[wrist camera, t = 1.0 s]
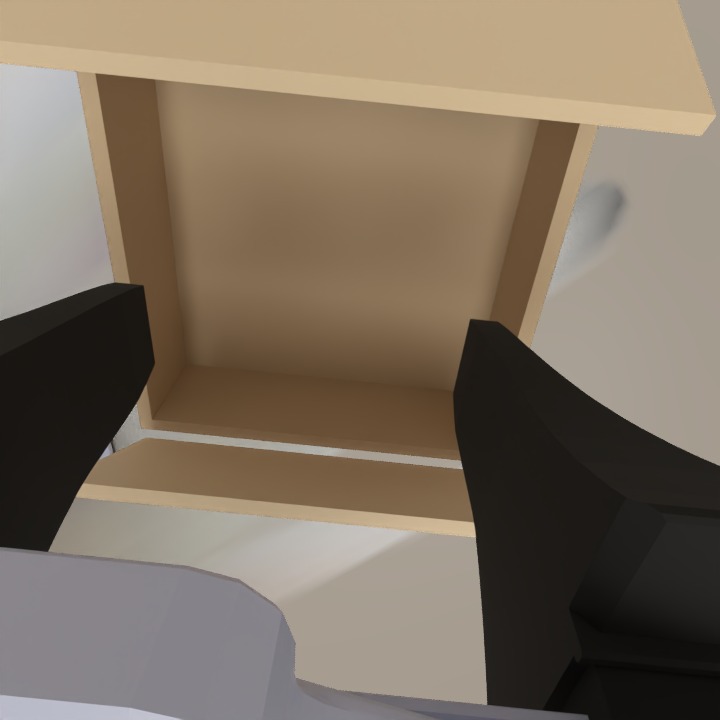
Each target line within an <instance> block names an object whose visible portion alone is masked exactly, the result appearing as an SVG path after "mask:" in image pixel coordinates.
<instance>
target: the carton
mask: <svg viewBox="0 0 720 720" xmlns="http://www.w3.org/2000/svg"><path fill="white" fill-rule="evenodd" d="M77 77H78V82H79V88H80V93H81V99H82V104H83V110H84V115H85V121H86V126H87V132H88V137H89V143H90V149H91V154H92V160H93V165H94V171H95V176H96V182H97V187H98V193H99V198H100V204H101V209H102V215H103V220H104V226H105V231H106V237H107V242H108V248H109V254H110V259H111V265H112V270H113V276H114V281H115V283H116V282H117V283H127V284H137V285H144V291H145V298H146V304H147V311H148V318H149V324H150V331H151V338H152V344H153V351H154V358H155V365H154V368H153V370H152V372H151V375H150V377H149V379H148V382H147V384H146V386H145V388H144V390H143V392H142V394H141V396H140V398H139V400H138V402H137V408H138V414H139V419H140V425H141V428H143V429H153V430H163V431H173V432H183V433H193V434H203V435H213V436H223V437H233V438H243V439H253V440H262V441H272V442H282V443H292V444H302V445H312V446H322V447H332V448H342V449H352V450H362V451H372V452H382V453H392V454H402V455H412V456H422V457H432V458H441V459H451V460H461V457H460V452H459V448H458V443H457V438H456V432H455V422H454V406H453V391H454V387H455V382H456V378H457V374H458V369H459V365H460V361H461V356H462V352H463V348H464V343H465V339H466V334H467V330H468V326H469V321H470V319H478V320H488V321H498V322H499V323H501V324H502V325H503V326H505V327H506V328H507V329H508V330H509V331H511V332H512V333H513V334H514V335H515V336H516V337H517V338H519V339H520V340H521V341H522V342H523V343H524V344H525V345H526V346H528V347H529V348H530V346H531V343H532V340H533V336H534V333H535V330H536V326H537V323H538V320H539V317H540V314H541V310H542V307H543V304H544V301H545V298H546V294H547V291H548V288H549V285H550V281H551V278H552V275H553V272H554V268H555V265H556V262H557V259H558V256H559V252H560V249H561V246H562V243H563V239H564V236H565V233H566V230H567V226H568V223H569V220H570V217H571V214H572V210H573V207H574V204H575V201H576V197H577V194H578V191H579V188H580V184H581V181H582V178H583V175H584V171H585V168H586V165H587V162H588V159H589V155H590V152H591V149H592V145H593V142H594V139H595V136H596V133H597V129H598V126H599V125H590V124H581V123H571V122H562V121H552V120H542V119H533V118H523V117H513V116H504V115H494V114H484V113H475V112H465V111H456V110H446V109H436V108H427V107H417V106H407V105H398V104H388V103H378V102H369V101H359V100H349V99H340V98H330V97H321V96H311V95H301V94H292V93H282V92H272V91H263V90H253V89H243V88H234V87H224V86H215V85H205V84H195V83H186V82H176V81H166V80H157V79H147V78H137V77H128V76H118V75H108V74H99V73H89V72H80V71H77Z"/></svg>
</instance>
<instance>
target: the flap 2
mask: <svg viewBox="0 0 720 720" xmlns="http://www.w3.org/2000/svg"><path fill="white" fill-rule="evenodd" d="M76 497H77V498H87V499H97V500H107V501H117V502H127V503H137V504H147V505H157V506H167V507H177V508H187V509H197V510H207V511H217V512H227V513H237V514H247V515H257V516H267V517H277V518H287V519H297V520H307V521H317V522H327V523H337V524H347V525H357V526H367V527H377V528H387V529H397V530H407V531H417V532H427V533H437V534H447V535H458V536H469V537H476V533H475V526H474V520H473V514H472V509H471V504H470V500H469V495H468V490H467V486H466V481H465V476H464V471H463V469H453V468H443V467H432V466H423V465H413V464H402V463H392V462H383V461H373V460H362V459H353V458H343V457H333V456H323V455H313V454H303V453H293V452H283V451H274V450H264V449H254V448H244V447H234V446H224V445H214V444H204V443H194V442H184V441H174V440H164V439H154V438H145V439H142V440H140V441H138V442H136V443H134V444H132V445H130V446H128V447H126V448H123V449H121V450H119V451H117V452H115V453H113V454H111V455H109V456H106V457H104V458H102V459H100V460H98V461H97V463H96V464H95V466H94V467H93V469H92V470H91V472H90V473H89V475H88V476H87V478H86V480H85V481H84V483H83V485H82V486H81V488H80V490H79V491H78V493H77V495H76Z"/></svg>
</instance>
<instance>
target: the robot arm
mask: <svg viewBox="0 0 720 720" xmlns="http://www.w3.org/2000/svg"><path fill="white" fill-rule="evenodd" d="M154 365H155V358H154V351H153V344H152V338H151V331H150V324H149V318H148V311H147V304H146V298H145V291H144V285H137V284H127V283H117V282H116V283H111V284H106V285H102V286H99V287H96V288H93V289H90V290H87V291H84V292H81V293H78V294H75V295H73V296H70V297H67V298H64V299H62V300H59V301H56V302H53V303H51V304H48V305H45V306H42V307H40V308H37V309H34V310H31V311H29V312H26V313H23V314H19V315H16V316H13V317H10V318H7V319H4V320H1V321H0V720H720V466H718V465H716V464H714V463H711V462H709V461H707V460H704V459H702V458H700V457H698V456H695V455H693V454H691V453H689V452H687V451H685V450H683V449H681V448H678V447H676V446H674V445H672V444H670V443H668V442H666V441H665V440H663V439H661V438H659V437H657V436H655V435H653V434H651V433H649V432H647V431H645V430H644V429H641V428H640V427H638V426H636V425H635V424H633V423H631V422H629V421H628V420H626V419H624V418H623V417H621V416H619V415H618V414H616V413H614V412H613V411H611V410H610V409H608V408H607V407H605V406H603V405H602V404H600V403H599V402H597V401H596V400H594V399H593V398H591V397H590V396H588V395H587V394H586V393H584V392H583V391H581V390H580V389H579V388H578V387H576V386H575V385H574V384H572V383H571V382H570V381H568V380H567V379H566V378H564V377H563V376H562V375H561V374H559V373H558V372H557V371H556V370H554V369H553V368H552V367H550V365H548V364H547V363H546V362H545V361H544V360H542V359H541V358H540V357H539V356H538V355H536V353H534V352H533V351H532V350H531V349H530V348H529V347H528V346H526V345H525V344H524V343H523V342H522V341H521V340H520V339H519V338H517V337H516V336H515V335H514V334H513V333H512V332H511V331H509V330H508V329H507V328H506V327H505V326H503V325H502V324H501V323H499V322H498V321H488V320H478V319H470V321H469V326H468V330H467V334H466V339H465V343H464V348H463V352H462V356H461V361H460V365H459V369H458V374H457V378H456V382H455V387H454V391H453V406H454V422H455V432H456V438H457V443H458V448H459V452H460V457H461V462H462V467H463V471H464V476H465V481H466V486H467V490H468V495H469V500H470V504H471V509H472V514H473V520H474V526H475V533H476V543H477V554H478V564H479V575H480V588H481V599H482V614H483V628H484V646H485V663H486V682H487V705H482V704H471V703H461V702H451V701H441V700H432V699H422V698H411V697H401V696H391V695H381V694H371V693H361V692H351V691H341V690H336V689H332V688H329V687H325V686H322V685H318V684H315V683H311V682H308V681H305V680H301V679H298V678H295V673H294V671H295V670H294V669H295V645H296V643H295V640H294V638H293V636H292V634H291V631H290V629H289V626H288V624H287V622H286V619H285V617H284V615H283V613H282V611H281V610H280V609H279V608H278V607H277V606H276V605H275V604H274V603H273V602H271V601H270V600H268V599H267V598H265V597H264V596H262V595H261V594H260V593H258V592H257V591H255V590H254V589H252V588H251V587H249V586H248V585H246V584H245V583H244V582H242V581H241V580H239V579H236V578H232V577H228V576H224V575H221V574H217V573H213V572H209V571H205V570H201V569H198V568H194V567H190V566H183V565H173V564H163V563H153V562H143V561H133V560H123V559H113V558H103V557H93V556H83V555H73V554H63V553H53V552H48V550H49V548H50V546H51V544H52V542H53V540H54V538H55V536H56V534H57V532H58V530H59V528H60V526H61V524H62V522H63V520H64V518H65V516H66V514H67V512H68V510H69V508H70V506H71V505H72V503H73V501H74V499H75V497H76V495H77V493H78V491H79V490H80V488H81V486H82V485H83V483H84V481H85V480H86V478H87V476H88V475H89V473H90V472H91V470H92V469H93V467H94V466H95V464H96V463H97V461H98V460H100V459H102V458H104V457H106V456H109V455H111V454H113V450H112V446H111V441H112V439H113V438H114V436H115V435H116V433H117V432H118V430H119V429H120V427H121V426H122V424H123V423H124V421H125V420H126V418H127V417H128V415H129V414H130V412H131V411H132V409H133V408H134V406H135V405H136V403H137V402H138V400H139V398H140V396H141V394H142V392H143V390H144V388H145V386H146V384H147V382H148V379H149V377H150V375H151V372H152V370H153V368H154Z"/></svg>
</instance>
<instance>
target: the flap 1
mask: <svg viewBox="0 0 720 720" xmlns="http://www.w3.org/2000/svg"><path fill="white" fill-rule="evenodd" d="M0 63H2V64H12V65H22V66H31V67H41V68H51V69H60V70H70V71H80V72H89V73H99V74H108V75H118V76H128V77H137V78H147V79H157V80H166V81H176V82H186V83H195V84H205V85H215V86H224V87H234V88H243V89H253V90H263V91H272V92H282V93H292V94H301V95H311V96H321V97H330V98H340V99H349V100H359V101H369V102H378V103H388V104H398V105H407V106H417V107H427V108H436V109H446V110H456V111H465V112H475V113H484V114H494V115H504V116H513V117H523V118H533V119H542V120H552V121H562V122H571V123H581V124H590V125H600V126H610V127H619V128H629V129H639V130H649V131H659V132H668V133H677V134H687V135H697V136H701V135H702V134H703V133H704V131H705V130H706V129H707V127H708V126H709V125H710V123H711V122H712V121H713V119H714V118H715V117H716V112H715V109H714V107H713V103H712V100H711V97H710V94H709V92H708V89H707V86H706V83H705V80H704V77H703V74H702V71H701V68H700V65H699V63H698V60H697V57H696V54H695V51H694V48H693V45H692V42H691V39H690V36H689V33H688V30H687V27H686V24H685V21H684V18H683V16H682V13H681V10H680V7H679V4H678V1H677V0H0Z"/></svg>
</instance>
